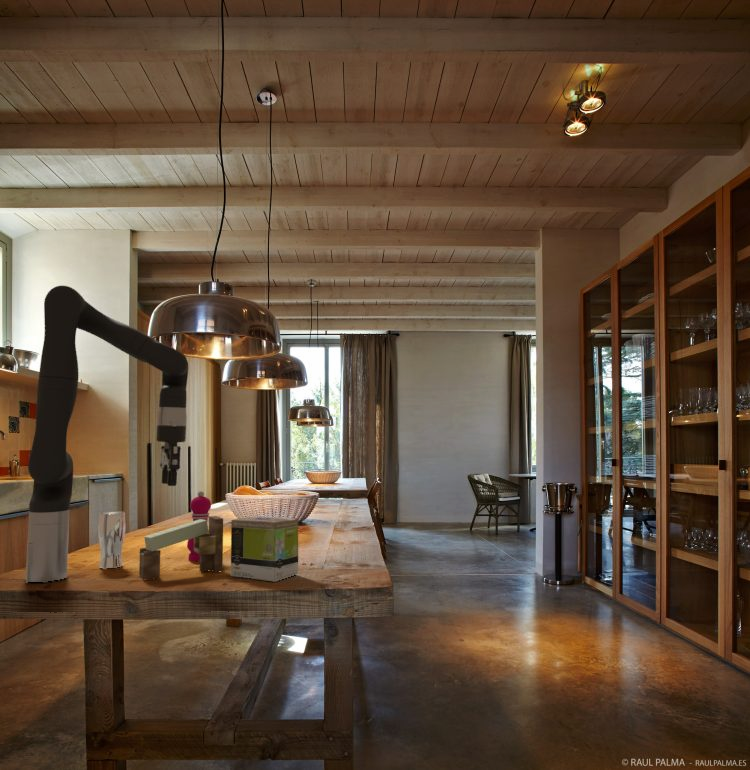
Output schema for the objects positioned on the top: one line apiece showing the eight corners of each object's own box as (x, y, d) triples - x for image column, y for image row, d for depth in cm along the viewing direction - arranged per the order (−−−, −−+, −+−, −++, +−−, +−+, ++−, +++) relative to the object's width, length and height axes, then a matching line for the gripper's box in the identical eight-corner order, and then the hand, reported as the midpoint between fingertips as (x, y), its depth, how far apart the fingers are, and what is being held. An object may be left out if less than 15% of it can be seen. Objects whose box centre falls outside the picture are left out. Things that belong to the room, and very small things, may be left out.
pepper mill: (215, 557, 184) (216, 490, 186) (206, 562, 177) (208, 492, 179) (192, 557, 185) (193, 490, 187) (182, 561, 178) (184, 492, 179)
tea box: (299, 575, 159) (299, 517, 160) (274, 583, 150) (274, 522, 152) (255, 569, 167) (256, 514, 168) (229, 576, 158) (230, 518, 159)
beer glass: (125, 563, 175) (126, 510, 176) (123, 568, 169) (125, 513, 170) (98, 565, 173) (100, 511, 174) (95, 570, 166) (97, 514, 168)
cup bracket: (199, 574, 161) (200, 520, 162) (193, 569, 167) (194, 517, 168) (222, 571, 164) (223, 518, 165) (215, 567, 170) (216, 515, 171)
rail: (152, 551, 155) (150, 538, 155) (146, 549, 158) (144, 536, 158) (208, 532, 166) (206, 520, 166) (202, 531, 169) (200, 519, 169)
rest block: (143, 580, 154) (144, 552, 155) (138, 575, 160) (139, 548, 160) (159, 578, 156) (160, 550, 157) (155, 573, 162) (155, 546, 162)
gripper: (152, 424, 171) (149, 483, 170) (162, 423, 159) (158, 486, 157) (180, 425, 175) (177, 482, 173) (191, 424, 162) (188, 486, 161)
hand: (168, 484), depth 165 cm, fingers open, 8 cm apart
